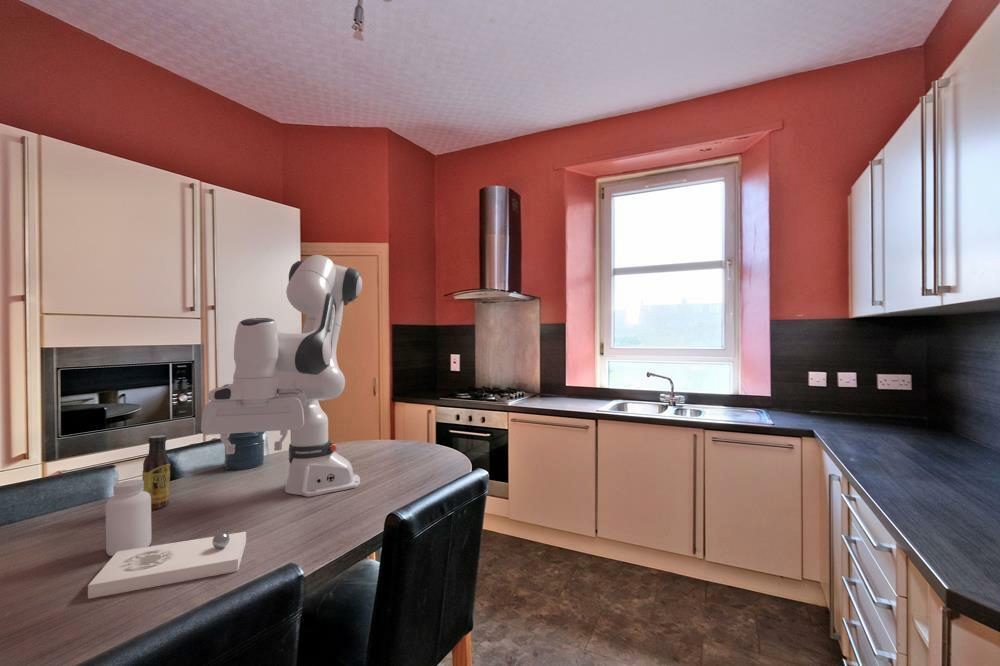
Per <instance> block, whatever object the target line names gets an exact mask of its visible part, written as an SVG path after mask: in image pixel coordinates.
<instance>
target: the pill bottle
mask: <svg viewBox="0 0 1000 666" xmlns="http://www.w3.org/2000/svg"><path fill="white" fill-rule="evenodd" d="M143 487H144V481H143V480H142V479H131V480H130V479H129V480H126V481H125V480H124V481H121V482H118V483H115V484H114V485H113V494H112V495H113V496H112V497H111V498H110V499H108V500H107V502H106V504H105V544H106V545H105V547H106V548H105V550H106V554H107V555H108V556H110V557H113V556H114V555H115V554H116V552H118V551H124V550H131V549H137V548H143V547H150V545H151V544H152V510H151V496H150V494H149V493H148V492H146V491H142V490H143V489H144V488H143Z"/></svg>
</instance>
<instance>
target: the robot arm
mask: <svg viewBox="0 0 1000 666" xmlns="http://www.w3.org/2000/svg"><path fill="white" fill-rule="evenodd" d="M362 288H363V279H362V274H361V272H360V271H359V270H357V269H354V268H352V267H346V266H342V265H338V264H336V263H335V264H334V262H333V261H332V260H331V259H330V258H329V257H327V256H324V255H321V254H313V255H310V256H308V257H306V259H304V260H298V261H296V262H294V263H292V265H291V267H290V268H289V272H288V283H287V286H286V291H285V292H286V298H287V300H288V302H289V304H290V305H291V306H292V308H294V309H295V310H297V311H298V312H300V313H302V314H304V315H306V317H305V321H304V323H303V324H304V325H303V329H302V333H285V332H283V333H282V332H281V331H279V330H278V328H277V322H276V320H275V319H273V318H270V317H269V318H268V317H256V318H254V317H253V318H252V317H251V318H245V319H243V320H241V321H239V322H238V324H237V326H236V330H235V335H234V345H233V360H234V363H235V369H234V373H233V376H232V377H233V378H232V380H233V381H232V383H230V384H229V383H228V384H227V383H226V384H224V385H222V386H220V387H217V388H213V389H211V390H210V391H208V394H207V395H208V396H207V397H208V400H209V402H207V403H206V404H205V406H204V407H203V411H202V415H201V422H200V431H201V432H202V434H204V435H205V436H211V435H213V436H214V435H220V437H219V439H220V441H221V442H222V444H223V445H225V446H224V448H225V447H226V454H234V453H235V449H234V448H235V444H233V445H231V444H230V442H229V441H228V439H227V438H228V437H229V434H230V433H247V432H263V431H264V432H275V431H280V432H279V434H280V436H281V437H280V438H279V439H278V441H274V446H273V447H274V448H273V449H274V451H282V449H283V442H284V440H285V439H286V437H287V436H288V431H290V443H289V447H288V462H289V469H288V474H287V475H288V476H287V481H286V485H285V487H284V491H285V493H287V494H292V495H298V496H299V495H300V496H303V497H307V498H310V497H314V496H315V497H316V496H320V495H325V494H329V493H335V492H339V491H345V490H350V489H355V488H357V487H359V486H360V484H361V478H360V476H359V475H358V474H357V473H354V469H353V466H352V463H351V462H350V460H349V459H347V458H345V457H343V456H342V455H341V454H339V453H337V452H336V451H337V450H338V445H337V444H336V443H335V442H334V441H332V440H329V418H328V415H327V413H326V412H324V410H323V409H322V407H321V405H320V402H319V401H328V400H333V399H337V398H338V397H340V396H341V395H342V393H344V391H345V390H344V389H345V387H346V379H345V378H346V377H345V375H344V373H343V372H342V370H341V369H340V367H339V363H338V359H337V358H338V357H337V349H338V347H337V346H338V343H339V337H340V332H341V328H342V321H343V314H344V313H343V312H344V306H348V305H349V303H351V302H354V301H355V300H356V299H357V298H358V297H359V295H360V294H361V292H362Z"/></svg>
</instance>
